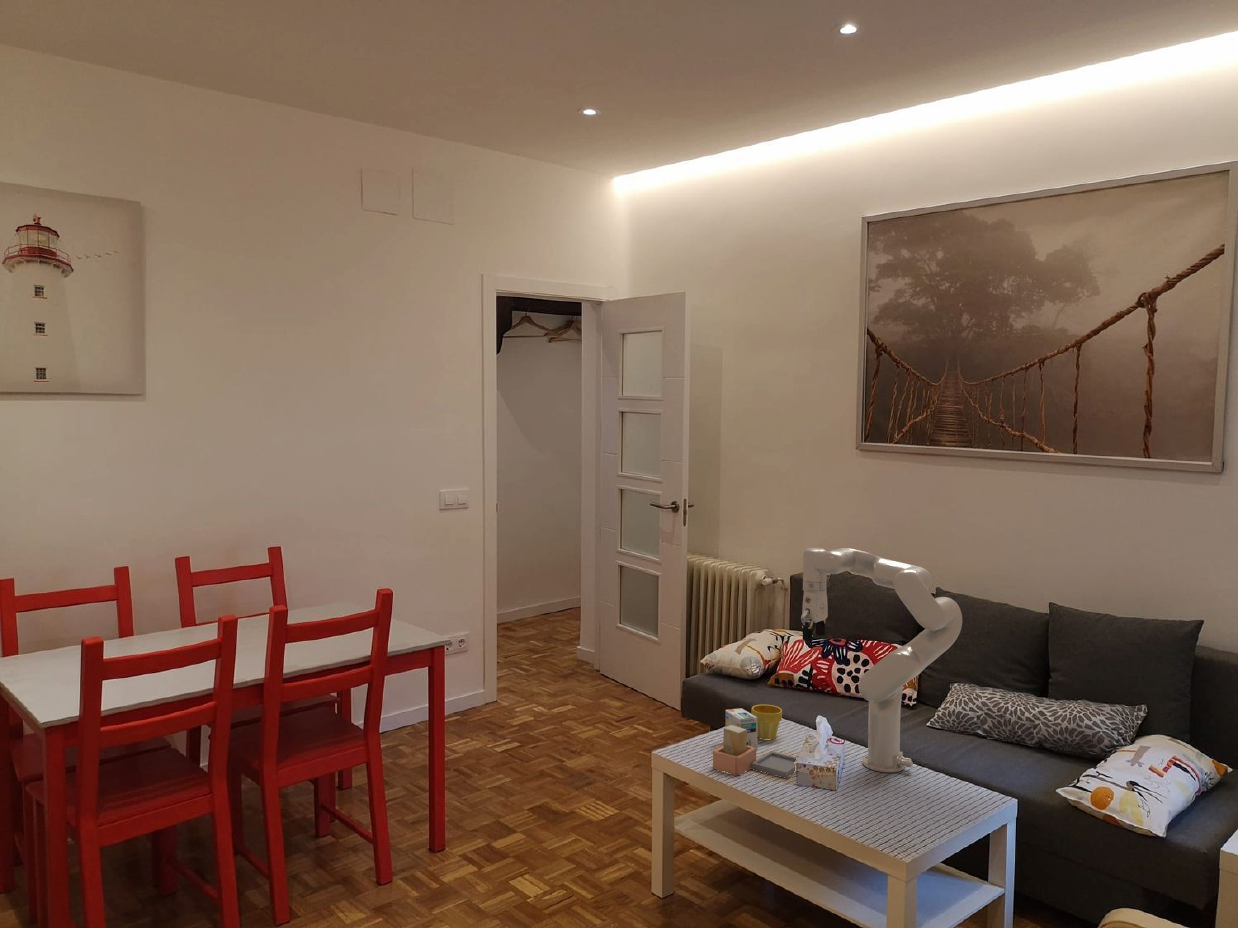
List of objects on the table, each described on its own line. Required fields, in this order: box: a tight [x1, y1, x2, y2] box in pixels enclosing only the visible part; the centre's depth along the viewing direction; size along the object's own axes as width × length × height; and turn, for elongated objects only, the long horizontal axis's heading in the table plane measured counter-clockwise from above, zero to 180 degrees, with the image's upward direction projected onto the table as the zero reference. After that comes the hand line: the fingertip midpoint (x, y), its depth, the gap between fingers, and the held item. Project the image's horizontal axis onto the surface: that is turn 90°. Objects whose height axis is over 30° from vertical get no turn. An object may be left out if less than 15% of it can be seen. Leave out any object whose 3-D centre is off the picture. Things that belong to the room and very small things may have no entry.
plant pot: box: [750, 704, 783, 740], centre depth 300 cm, size 10×10×10 cm
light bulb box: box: [725, 708, 758, 749], centre depth 292 cm, size 11×7×11 cm, turn 22°
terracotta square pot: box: [712, 745, 757, 776], centre depth 273 cm, size 9×11×6 cm
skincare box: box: [722, 725, 747, 756], centre depth 273 cm, size 6×4×12 cm
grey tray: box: [750, 750, 798, 779], centre depth 273 cm, size 12×13×2 cm
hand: (813, 637), depth 288 cm, fingers open, 9 cm apart
